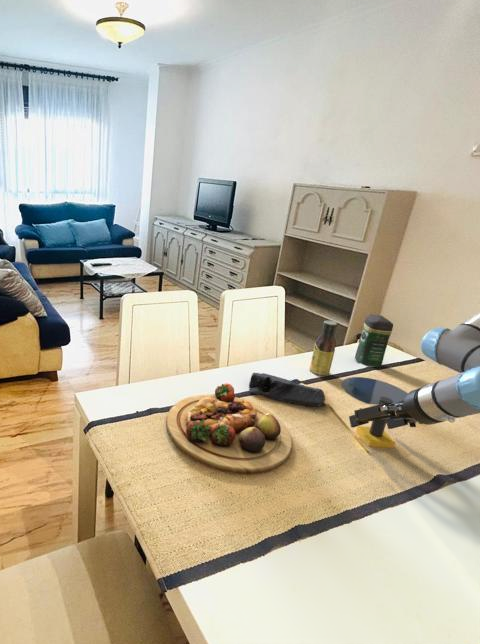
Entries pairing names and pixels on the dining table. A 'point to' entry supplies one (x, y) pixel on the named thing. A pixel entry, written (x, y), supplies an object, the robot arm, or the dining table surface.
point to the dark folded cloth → (285, 390)
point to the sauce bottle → (324, 350)
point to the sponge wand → (376, 431)
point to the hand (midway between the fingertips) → (369, 422)
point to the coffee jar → (373, 340)
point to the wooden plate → (229, 433)
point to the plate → (372, 390)
